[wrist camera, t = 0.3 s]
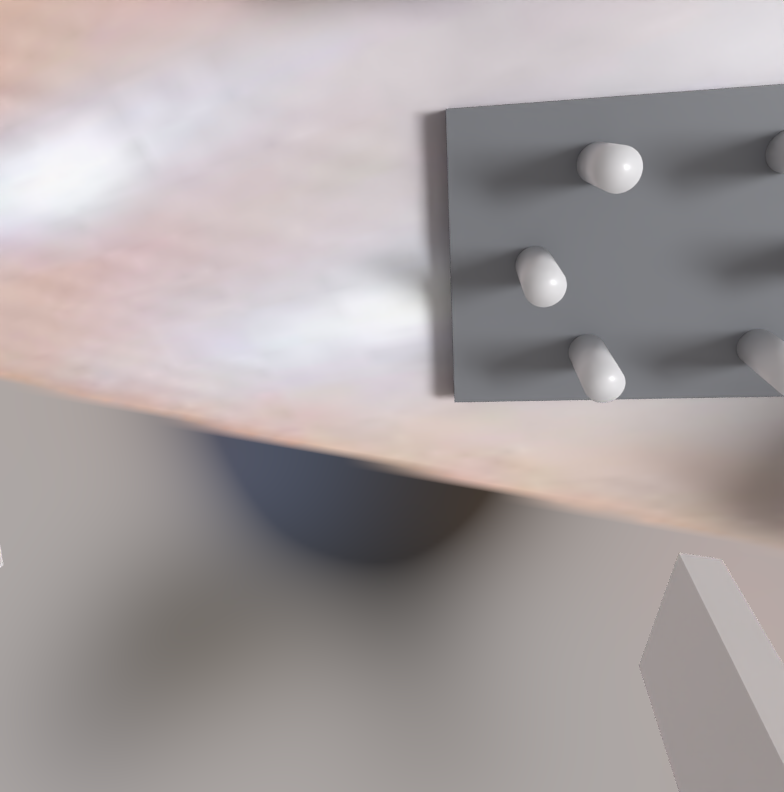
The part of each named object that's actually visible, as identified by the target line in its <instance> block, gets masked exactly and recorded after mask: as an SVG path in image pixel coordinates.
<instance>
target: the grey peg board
mask: <svg viewBox="0 0 784 792" xmlns="http://www.w3.org/2000/svg"><path fill="white" fill-rule="evenodd" d="M446 130H447V163H448V197H449V230H450V263H451V297H452V330H453V364H454V397H455V402H497V401H552V400H593V401H595V402H600V403H606V402H610V401H613V400H615V399H662V398H717V397H773V396H784V84H778V85H764V86H751V87H737V88H723V89H710V90H696V91H683V92H669V93H656V94H642V95H629V96H615V97H601V98H588V99H574V100H561V101H547V102H534V103H520V104H507V105H493V106H479V107H466V108H452V109H446Z"/></svg>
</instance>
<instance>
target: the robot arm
mask: <svg viewBox="0 0 784 792" xmlns="http://www.w3.org/2000/svg"><path fill="white" fill-rule="evenodd" d="M2 566H3V559H2V554H1V548H0V568H1V567H2ZM639 667H640V671H641V674H642V677H643V680H644V683H645V686H646V689H647V692H648V696H649V699H650V702H651V705H652V708H653V711H654V714H655V718H656V721H657V724H658V727H659V730H660V733H661V736H662V740H663V743H664V746H665V749H666V752H667V755H668V758H669V761H670V764H671V768H672V771H673V774H674V777H675V780H676V783H677V787H678V789H679V792H784V664H783V663H782V661H781V659H780V657H779V656H778V654H777V652H776V650H775V649H774V647H773V645H772V644H771V642H770V640H769V638H768V637H767V635H766V633H765V632H764V630H763V628H762V626H761V625H760V623H759V621H758V620H757V618H756V616H755V615H754V613H753V611H752V609H751V608H750V606H749V604H748V603H747V601H746V599H745V597H744V596H743V594H742V592H741V591H740V589H739V587H738V586H737V584H736V582H735V580H734V579H733V577H732V575H731V574H730V572H729V570H728V568H727V567H726V565H725V563H724V562H723V560H722V559H718V558H711V557H705V556H698V555H691V554H685V553H679V554H678V557H677V559H676V562H675V565H674V568H673V571H672V573H671V576H670V579H669V582H668V585H667V588H666V591H665V593H664V596H663V599H662V602H661V605H660V607H659V611H658V613H657V616H656V619H655V622H654V625H653V627H652V630H651V633H650V636H649V639H648V641H647V644H646V647H645V650H644V653H643V655H642V658H641V661H640V664H639Z"/></svg>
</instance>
